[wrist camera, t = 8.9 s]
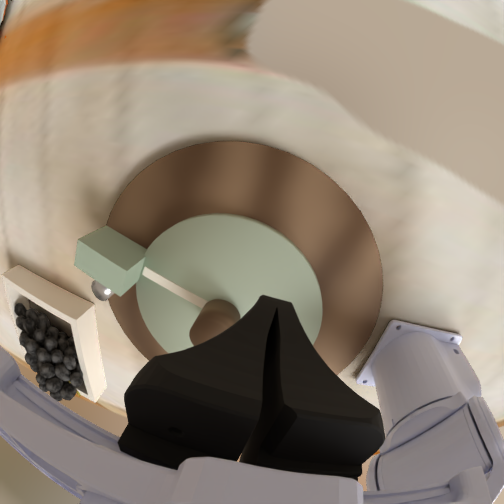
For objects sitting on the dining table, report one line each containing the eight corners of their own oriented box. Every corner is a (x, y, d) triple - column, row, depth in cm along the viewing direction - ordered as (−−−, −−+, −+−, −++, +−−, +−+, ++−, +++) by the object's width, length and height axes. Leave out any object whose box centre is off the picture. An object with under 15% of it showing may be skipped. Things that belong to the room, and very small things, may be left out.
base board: (423, 197, 18) (462, 215, 13) (316, 413, 27) (316, 455, 22) (119, 122, 20) (71, 119, 14) (112, 349, 29) (86, 381, 23)
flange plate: (360, 275, 19) (371, 301, 16) (264, 394, 25) (259, 424, 21) (127, 154, 19) (96, 158, 15) (92, 300, 24) (69, 319, 21)
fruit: (-15, 333, 22) (60, 420, 23) (-1, 292, 21) (83, 391, 23) (20, 316, 30) (86, 389, 32) (39, 279, 30) (111, 358, 32)
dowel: (140, 259, 24) (108, 284, 19) (140, 276, 24) (109, 303, 20) (124, 253, 24) (90, 277, 19) (124, 270, 25) (92, 296, 20)
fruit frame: (94, 304, 27) (76, 320, 24) (107, 386, 32) (95, 402, 29) (18, 264, 28) (1, 274, 25) (37, 344, 33) (24, 356, 30)
